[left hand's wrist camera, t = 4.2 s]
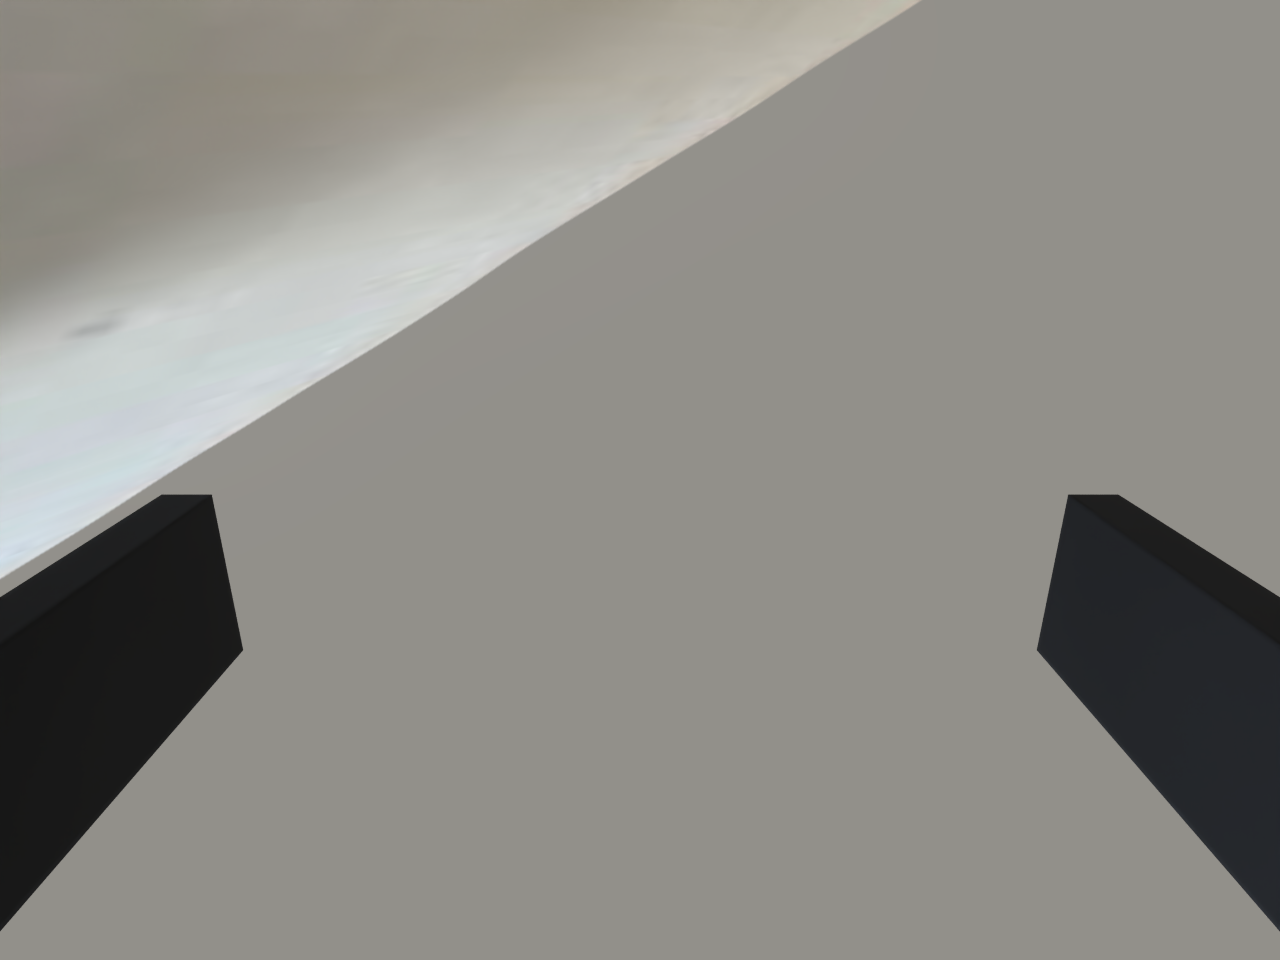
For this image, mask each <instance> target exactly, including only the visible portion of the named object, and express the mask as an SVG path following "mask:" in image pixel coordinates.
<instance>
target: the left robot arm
mask: <svg viewBox="0 0 1280 960" xmlns="http://www.w3.org/2000/svg"><path fill="white" fill-rule="evenodd" d="M242 651H243V647H242V642H241V637H240V632H239V628H238V623H237V617H236V612H235V608H234V603H233V598H232V593H231V588H230V583H229V578H228V573H227V568H226V563H225V558H224V553H223V548H222V543H221V539H220V533H219V528H218V523H217V518H216V514H215V509H214V504H213V499H212V495H160V496H159V497H157V498H156V499H154V500H153V501H151V502H149V503H148V504H146V505H145V506H143V507H142V508H140V509H138V510H137V511H135V512H134V513H132V514H131V515H129V516H127V517H126V518H124V519H123V520H121V521H120V522H118V523H116V524H115V525H113V526H112V527H110V528H109V529H107V530H105V531H104V532H102V533H101V534H99V535H98V536H96V537H94V538H93V539H91V540H90V541H88V542H86V543H85V544H83V545H82V546H80V547H79V548H77V549H75V550H74V551H72V552H71V553H69V554H68V555H66V556H64V557H63V558H61V559H60V560H58V561H57V562H55V563H53V564H52V565H50V566H49V567H47V568H46V569H44V570H42V571H41V572H39V573H38V574H36V575H35V576H33V577H31V578H30V579H28V580H27V581H25V582H24V583H22V584H20V585H19V586H17V587H16V588H14V589H12V590H11V591H9V592H8V593H6V594H5V595H3V596H2V597H0V931H1V930H2V929H3V927H4V926H5V925H6V924H7V923H8V922H9V920H10V919H11V918H12V917H13V916H14V915H15V914H16V912H17V911H18V910H19V909H20V908H21V907H22V905H23V904H24V903H25V902H26V901H27V900H28V898H29V897H30V896H31V895H32V894H33V893H34V891H35V890H36V889H37V888H38V887H39V886H40V885H41V883H42V882H43V881H44V880H45V879H46V877H47V876H48V875H49V874H50V873H51V872H52V871H53V870H54V868H55V867H56V866H57V865H58V864H59V863H60V861H61V860H62V859H63V858H64V857H65V856H66V854H67V853H68V852H69V851H70V850H71V849H72V848H73V846H74V845H75V844H76V843H77V842H78V841H79V839H80V838H81V837H82V836H83V835H84V834H85V832H86V831H87V830H88V829H89V828H90V827H91V826H92V824H93V823H94V822H95V821H96V820H97V819H98V817H99V816H100V815H101V814H102V813H103V812H104V810H105V809H106V808H107V807H108V806H109V805H110V804H111V802H112V801H113V800H114V799H115V798H116V797H117V795H118V794H119V793H120V792H121V791H122V790H123V789H124V787H125V786H126V785H127V784H128V783H129V782H130V780H131V779H132V778H133V777H134V776H135V775H136V773H137V772H138V771H139V770H140V769H141V768H142V767H143V765H144V764H145V763H146V762H147V761H148V759H149V758H150V757H151V756H152V755H153V754H154V753H155V751H156V750H157V749H158V748H159V747H160V746H161V744H162V743H163V742H164V741H165V740H166V739H167V738H168V736H169V735H170V734H171V733H172V732H173V731H174V729H175V728H176V727H177V726H178V725H179V724H180V723H181V721H182V720H183V719H184V718H185V717H186V716H187V714H188V713H189V712H190V711H191V710H192V708H193V707H194V706H195V705H196V704H197V703H198V702H199V701H200V699H201V698H202V697H203V696H204V695H205V694H206V692H207V691H208V690H209V689H210V688H211V687H212V685H213V684H214V683H215V682H216V681H217V680H218V679H219V677H220V676H221V675H222V674H223V673H224V672H225V670H226V669H227V668H228V667H229V666H230V665H231V664H232V662H233V661H234V660H235V659H236V658H237V657H238V655H239V654H240V653H241V652H242ZM1037 651H1038V652H1039V653H1040V654H1041V655H1042V657H1043V658H1044V659H1045V660H1046V661H1047V662H1048V663H1049V665H1050V666H1051V667H1052V668H1053V669H1054V670H1055V672H1056V673H1057V674H1058V675H1059V676H1060V677H1061V679H1062V680H1063V681H1064V682H1065V683H1066V684H1067V685H1068V687H1069V688H1070V689H1071V690H1072V691H1073V692H1074V694H1075V695H1076V696H1077V697H1078V698H1079V699H1080V701H1081V702H1082V703H1083V704H1084V705H1085V706H1086V707H1087V709H1088V710H1089V711H1090V712H1091V713H1092V714H1093V716H1094V717H1095V718H1096V719H1097V720H1098V721H1099V722H1100V724H1101V725H1102V726H1103V727H1104V728H1105V729H1106V731H1107V732H1108V733H1109V734H1110V735H1111V736H1112V738H1113V739H1114V740H1115V741H1116V742H1117V743H1118V745H1119V746H1120V747H1121V748H1122V749H1123V750H1124V751H1125V753H1126V754H1127V755H1128V756H1129V757H1130V758H1131V760H1132V761H1133V762H1134V763H1135V764H1136V765H1137V767H1138V768H1139V769H1140V770H1141V771H1142V772H1143V773H1144V775H1145V776H1146V777H1147V778H1148V779H1149V780H1150V782H1151V783H1152V784H1153V785H1154V786H1155V787H1156V789H1157V790H1158V791H1159V792H1160V793H1161V794H1162V795H1163V797H1164V798H1165V799H1166V800H1167V801H1168V802H1169V803H1170V805H1171V806H1172V807H1173V808H1174V809H1175V810H1176V812H1177V813H1178V814H1179V815H1180V816H1181V817H1182V819H1183V820H1184V821H1185V822H1186V823H1187V824H1188V826H1189V827H1190V828H1191V829H1192V830H1193V831H1194V832H1195V834H1196V835H1197V836H1198V837H1199V838H1200V839H1201V841H1202V842H1203V843H1204V844H1205V845H1206V846H1207V848H1208V849H1209V850H1210V851H1211V852H1212V853H1213V854H1214V856H1215V857H1216V858H1217V859H1218V860H1219V861H1220V863H1221V864H1222V865H1223V866H1224V867H1225V868H1226V869H1227V871H1228V872H1229V873H1230V874H1231V875H1232V876H1233V878H1234V879H1235V880H1236V881H1237V882H1238V883H1239V885H1240V886H1241V887H1242V888H1243V889H1244V890H1245V891H1246V893H1247V894H1248V895H1249V896H1250V897H1251V898H1252V900H1253V901H1254V902H1255V903H1256V904H1257V905H1258V907H1259V908H1260V909H1261V910H1262V911H1263V912H1264V914H1265V915H1266V916H1267V917H1268V918H1269V919H1270V920H1271V922H1272V923H1273V924H1274V925H1275V926H1276V927H1277V929H1278V930H1279V931H1280V597H1279V596H1277V595H1275V594H1274V593H1272V592H1271V591H1269V590H1267V589H1266V588H1264V587H1263V586H1261V585H1260V584H1258V583H1256V582H1255V581H1253V580H1252V579H1250V578H1249V577H1247V576H1245V575H1244V574H1242V573H1241V572H1239V571H1238V570H1236V569H1234V568H1233V567H1231V566H1230V565H1228V564H1226V563H1225V562H1223V561H1222V560H1220V559H1219V558H1217V557H1216V556H1214V555H1212V554H1211V553H1209V552H1208V551H1206V550H1205V549H1203V548H1201V547H1200V546H1198V545H1197V544H1195V543H1194V542H1192V541H1190V540H1189V539H1187V538H1186V537H1184V536H1183V535H1181V534H1179V533H1178V532H1176V531H1175V530H1173V529H1172V528H1170V527H1168V526H1167V525H1165V524H1164V523H1162V522H1160V521H1159V520H1157V519H1156V518H1154V517H1153V516H1151V515H1149V514H1148V513H1146V512H1145V511H1143V510H1142V509H1140V508H1138V507H1137V506H1135V505H1134V504H1132V503H1131V502H1129V501H1127V500H1126V499H1124V498H1123V497H1121V496H1120V495H1068V499H1067V504H1066V509H1065V514H1064V519H1063V524H1062V528H1061V533H1060V538H1059V543H1058V548H1057V553H1056V558H1055V563H1054V568H1053V573H1052V578H1051V583H1050V588H1049V593H1048V598H1047V603H1046V608H1045V613H1044V618H1043V622H1042V627H1041V632H1040V637H1039V642H1038V647H1037Z"/></svg>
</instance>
